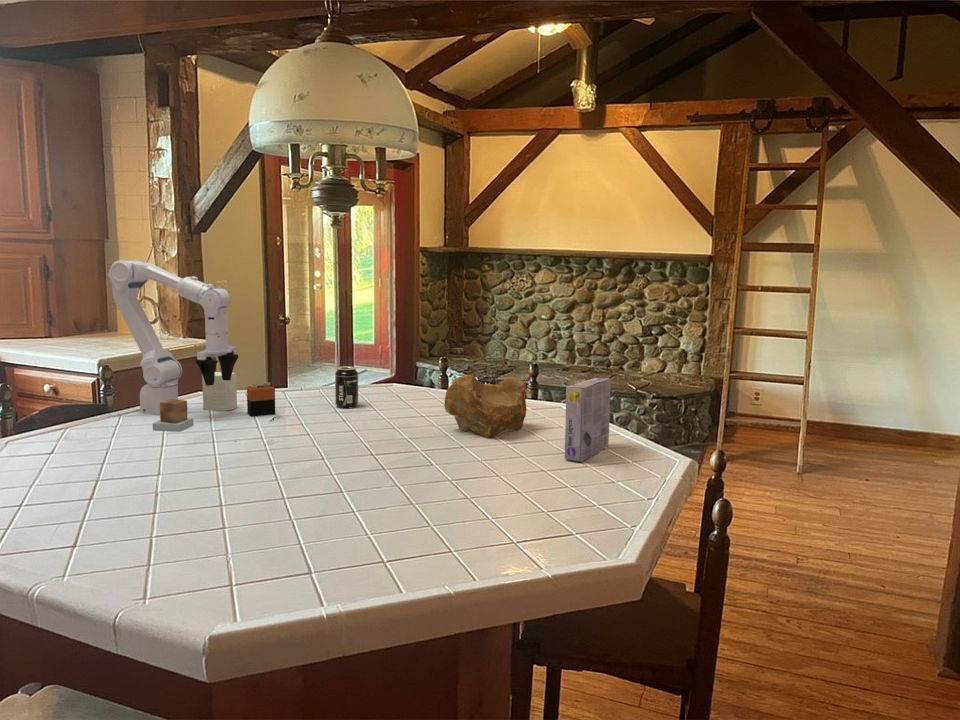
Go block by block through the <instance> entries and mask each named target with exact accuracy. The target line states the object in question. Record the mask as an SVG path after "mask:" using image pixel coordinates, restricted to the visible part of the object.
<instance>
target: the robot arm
mask: <svg viewBox="0 0 960 720" xmlns="http://www.w3.org/2000/svg"><path fill="white" fill-rule="evenodd" d="M107 277H108V279H109V280H110V282H111V289H112V290H111V291H112V298H113V301H114V302H115V304H116V307H117V308H118V310H119V312H120V314H121V317H122V318H123V320H124V321H125V324H126V326H127V328H128V329H129V331H130V333H131V335H132V337H133V339H134V341H135V343H136V344H137V347H138V350H139V351H140V353H141V354H142V359H141V361H140V363H139V364H140V367H141V368H142V369H141V370H142V377H143V379H144V381H145V382H146V384H144V385H143V386H142V387H141V389H140V391H139V406H140V410H139V411H140V413H141V414H142V413H143V414H152V415H157V416H158V415H159V416H160V402H163V401H167V400H170V399H177V400H179V390H178V389H179V388H178V387H179V386H178V384H179V379H180V378H181V376H182V374H183V367H182V364H181V363H180V362H179V361H178V360H177V359H176V358H175V357H174V356H173V354H172V353H171V352H170V351H168V350H167V349H165V348H164V347H163V345H162V343H161V341H160V340H159V338H158V335H157V334H156V332H155V329H154V327H153V325H152V323H151V322H150V321H149V320H150V319H149V318H148V316H147V314H146V311H145V310H144V309H143V307H142V304H141V303H140V301H139V299H138V297H139V293H140V291H141V290H142V289H143V287H144V286H145V285H146V284H147V282H148V281H153V282H156V283H158V284H162V285H164V286H167V287H169V288H172V289H173V290H174V289H175V290H176V291H177V294H178V295H179V296H180V297H182V298H185V299H187V300H189V301H191V302H193V303H196V304H198V305H201V307H202V309H203V311H204V323H205V324H204V325H205V326H204V327H205V330H204V331H205V349H203V350H201V351H198V352H196V353H197V354H196V358H195V364H196V365H197V366H198V367H199V370H200V372H201V374H202V375H203V378H204V381H205V384H206V385H214V378H215V372H216V367H217V364H218V363H219V367H220V372H221V374H222V379H223V380H228V381H229V380H231V375H232V373H233V370H234V367H235V365H236V362H237V360H238V359H239V354H237V346H236V345H229V326H228V323H229V320H228V307H229V306H230V305H231V302H232V297H231V295H230V293H229V292H228V290H226V289H224V287H217V288H215V287H214V285H213V284H211V283H208V284H207V283H205V282H202V281H201V280H198V279H199V278H198V277H197V276H194V275H193V276H192V275H191V276H185V277H183V278H182V277H181V276H177V275H176V274H174V273H172V272H170V271H168V270H166V269H164V268H161V267H159V266H157V265H155V264H154V263H152V262H147V261H145V260H142V259H136V260H124V259H122V260H121V259H119V260H116V261H114V262H113V263H112V264H111V265H110V269H109V271H108V273H107ZM213 358H218V359H217V360H216V359H213ZM202 375H201V376H202Z"/></svg>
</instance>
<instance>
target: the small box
mask: <svg viewBox="0 0 960 720" xmlns="http://www.w3.org/2000/svg"><path fill="white" fill-rule="evenodd" d="M201 381H202V382H201V383H202V404H203V410H204V409H214V410H213V411H221V410H230V411H231V409H232V410H233V408H234V409H235V408H237V407H238V395H237V393H238V392H237V373H236V372H232V375H231V380H229V381H228V380H223V379H222V374H221V371H215V378H214V385H206V384H205V381H204V378H203V375H201Z"/></svg>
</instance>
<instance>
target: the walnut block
mask: <svg viewBox="0 0 960 720" xmlns="http://www.w3.org/2000/svg"><path fill="white" fill-rule="evenodd" d="M159 416H160V417H159V418H160V422H167V423H175V424H176V423H179V422H182V421H185V420H188V418H189V417H188V400H185V399H178V400H177V399H170V400H167V401H163V402H160V415H159Z"/></svg>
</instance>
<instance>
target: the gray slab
mask: <svg viewBox="0 0 960 720" xmlns="http://www.w3.org/2000/svg"><path fill="white" fill-rule="evenodd" d="M187 418H188V420H185V421H182V422H179V423H176V424H175V423H167V422H160V420H158V421H155V422H153V423H152V431H159V432H160V431H161V432H178V433H180V432H182V431H184V430H186V429H188V428H190V427H192V426H194V418H193V417H187Z"/></svg>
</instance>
